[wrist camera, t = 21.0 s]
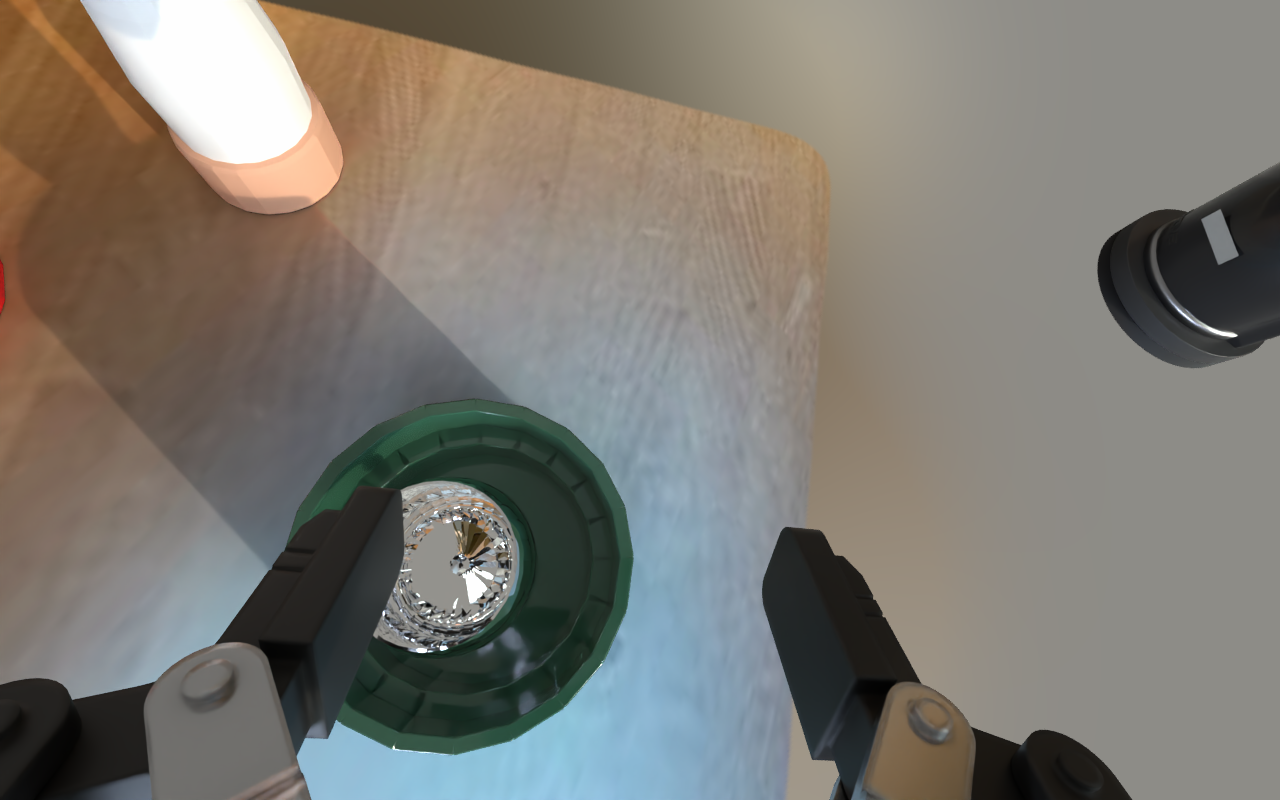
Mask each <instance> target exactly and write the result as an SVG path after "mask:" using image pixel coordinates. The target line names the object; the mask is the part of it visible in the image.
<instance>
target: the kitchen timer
mask: <svg viewBox="0 0 1280 800" xmlns="http://www.w3.org/2000/svg"><path fill="white" fill-rule="evenodd" d="M4 301H5V290H4V273H3V264H2V262H1V260H0V314H1V311H2V307H3V304H4Z"/></svg>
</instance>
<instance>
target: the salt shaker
mask: <svg viewBox="0 0 1280 800" xmlns="http://www.w3.org/2000/svg"><path fill="white" fill-rule="evenodd" d="M80 1H81V2H82V4H83V6H84V7H85V9H86V11H87V12H88V14H89V16H90V17H91V19H92V21H93V22H94V24H95V25H96V27H97V29H98V30H99V32H100V34H101V35H102V37H103V39H104V40H105V42H106V43H107V45H108V47H109V48H110V50H111V52H112V53H113V55H114V57H115V58H116V60H117V61H118V63H119V65H120V66H121V68H122V70H123V71H124V73H125V75H126V76H127V78H128V80H129V81H130V83H131V84H132V85H133V86H134V88H135V89H136V90H137V91H138V92H139V93H140V94H141V95H142V96H143V98H144V99H145V100H146V101H147V102H148V103H149V104H150V105H151V107H152V108H153V109H154V110H155V111H156V112H157V113H158V114H159V115H160V117H161V118H162V119H163V120H164V121H165V122H166V123H167V128H168V131H169V134H170V136H171V138H172V140H173V142H174V144H175V146H176V147H177V149H178V150H179V151H180V152H181V153H182V154H183V156H184V157H185V158H186V159H187V160H188V161H189V162H190V164H191V165H192V166H193V167H194V168H195V169H196V171H197V172H198V173H199V174H200V175H201V176H202V177H203V179H204V180H205V181H206V182H207V183H208V184H209V186H210V187H211V188H212V189H213V190H214V191H215V192H216V193H217V194H218V195H220V196H221V197H222V198H223V199H224V200H225V201H226V202H227V203H230V204H232V205H234V206H236V207H239V208H241V209H243V210H245V211H249V212H256V213H262V214H279V213H290V212H293V211H296V210H299V209H302V208H305V207H308V206H311V205H312V204H314V203H315V202H317V201H318V200H320V199H321V198H322V197H324V196H325V195H327V194H328V193H329V192H330V190H331V189H332V188H333V186H334V185H335V184H336V182H337V181H338V180H339V177H340V174H341V170H342V167H343V155H342V147H341V145H340V143H339V141H338V139H337V137H336V135H335V133H334V131H333V128H332V126H331V124H330V122H329V120H328V118H327V116H326V114H325V112H324V110H323V107H322V105H321V103H320V102H319V100H318V98H317V96H316V94H315V93H314V91H313V89H312V88H311V87H310V86H309V85H308V84H307V83H305V82H304V81H303V80H302V79H301V78H300V77H299V74H298V72H297V70H296V68H295V65H294V63H293V61H292V59H291V57H290V54H289V52H288V50H287V48H286V46H285V43H284V42H283V40H282V38H281V36H280V34H279V33H278V31H277V29H276V27H275V26H274V24H273V23H272V22H271V20H270V19H269V17H268V16H267V14H266V13H265V11H264V10H263V9H262V7H261V6H260V4H259V3H258V1H257V0H80Z"/></svg>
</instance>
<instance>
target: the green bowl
mask: <svg viewBox="0 0 1280 800" xmlns="http://www.w3.org/2000/svg"><path fill="white" fill-rule="evenodd" d="M447 476H452V477H467V478H472V479H476V480H480V481H483V482H485V483H488V484H490V485H493V486H495V487H497V488H498V489H500V490H502V491H503V492H505V493H506V494H507V495H509V496H510V497H511V498H512V499H513V500H514V501H515V502H516V503H517V504H518V505H519V506H520V507H521V509H522V510H523V511H524V513H525V515H526V516H527V518H528V520H529V522H530V523H531V526H532V528H533V531H534V534H535V537H536V540H537V545H538V556H539V567H538V573H537V579H536V584H535V587H534V590H533V592H532V595H531V597H530V599H529V602H528V604H527V606H526V607H525V609H524V610H523V612H522V613H521V614H520V616H519V617H518V619H517V620H516V621H515V623H514V624H513V625H512V626H511V627H510V628H509V629H508V630H507V631H506V632H505V633H504V634H502V635H501V636H500V637H499V638H497V639H496V640H494V641H493V642H491V643H490V644H489V645H487V646H485V647H483V648H481V649H478V650H476V651H474V652H472V653H470V654H466V655H462V656H458V657H453V658H449V659H421V658H416V657H412V656H408V655H405V654H401V653H398V652H397V651H395V650H393V649H391V648H389V647H387V646H385V645H384V644H382V643H381V642H380V641H379V640H377V639H376V638H375V637H372V639H371V641H370V643H369V646H368V648H367V650H366V653H365V655H364V657H363V659H362V662H361V664H360V666H359V669H358V671H357V673H356V675H355V678H354V680H353V682H352V685H351V687H350V689H349V691H348V694H347V696H346V698H345V700H344V703H343V705H342V707H341V710H340V712H339V714H338V716H337V719H336V720H337V721H338V722H341V724H342V725H344V726H346V727H348V728H350V729H352V730H354V731H356V732H358V733H360V734H362V735H364V736H366V737H368V738H370V739H372V740H374V741H376V742H378V743H380V744H382V745H384V746H386V747H388V748H391V749H394V750H400V751H410V752H421V753H431V754H442V755H453V754H454V755H458V754H462V753H466V752H470V751H474V750H478V749H482V748H486V747H490V746H494V745H498V744H502V743H506V742H509V741H512V740H514V739H516V738H518V737H520V736H521V735H523V734H524V733H526V732H527V731H529V730H531V729H532V728H534V727H535V726H537V725H539V724H540V723H542V722H543V721H545V720H547V719H548V718H550V717H551V716H553V715H554V714H556V713H558V712H559V711H561V710H562V709H563V708H564V707H566V706H567V705H568V704H569V702H570V701H571V700H572V699H573V698H574V697H575V696H576V694H577V693H578V692H579V691H580V690H581V689H582V687H583V686H584V685H585V684H586V683H587V682H588V680H589V679H590V678H591V677H592V676H593V675H594V673H595V672H596V671H597V670H598V669H599V668H600V666H601V665H602V664H603V662H604V661H605V659H606V656H607V654H608V652H609V650H610V647H611V645H612V643H613V641H614V639H615V636H616V634H617V632H618V630H619V627H620V625H621V623H622V621H623V618H624V616H625V614H626V610H627V606H628V598H629V591H630V583H631V575H632V567H633V559H634V558H633V549H632V544H631V538H630V532H629V526H628V521H627V515H626V509H625V507H624V506H625V505H624V503H623V501H622V499H621V497H620V496H619V494H618V492H617V490H616V488H615V486H614V484H613V482H612V480H611V478H610V476H609V474H608V472H607V470H606V469H605V467H604V465H603V463H602V462H601V461H600V460H599V459H598V458H597V457H596V456H595V455H594V454H593V453H592V452H591V451H590V450H589V449H588V448H587V447H586V446H585V445H584V444H583V443H582V442H581V441H580V440H579V439H578V438H577V437H576V436H575V435H574V434H573V433H572V432H571V431H570V430H568V429H567V428H566V427H564V426H562V425H560V424H558V423H556V422H554V421H552V420H550V419H548V418H546V417H544V416H542V415H540V414H538V413H536V412H534V411H532V410H530V409H528V408H526V407H523V406H517V405H512V404H506V403H500V402H494V401H488V400H482V399H468V400H460V401H452V402H443V403H435V404H427V405H423V406H420V407H418V408H416V409H413V410H411V411H409V412H406V413H404V414H402V415H399V416H397V417H395V418H392V419H390V420H388V421H385V422H383V423H380V424H378V425H376V426H375V427H373V428H372V429H371V430H369V431H368V432H367V433H366V434H364V435H363V436H362V437H361V438H359V439H358V440H357V441H356V442H354V443H353V444H352V445H351V446H350V447H348V448H347V449H346V450H345V451H343V452H342V453H341V454H340V455H338V456H337V457H336V458H335V459H333V460H332V462H331V463H330V464H329V465H328V467H327V468H326V470H325V471H324V472H323V474H322V475H321V477H320V478H319V480H318V481H317V482H316V484H315V485H314V487H313V488H312V490H311V491H310V493H309V494H308V495H307V497H306V498H305V500H304V501H303V503H302V504H301V505H300V507H299V510H298V511H297V514H296V517H295V520H294V523H293V526H292V529H291V532H290V535H289V538H288V541H287V545H288V543H289V542H290V541H291V539H292V538H293V536H294V535H295V534H296V532H297V531H298V529H299V528H300V527H301V526H302V525H303V524H305V523H306V522H308V521H309V520H310V519H312V518H313V517H315V516H316V515H318V514H319V513H320V512H322V511H323V510H325V509H331V510H342V509H343V508H344V506H345V505H346V503H347V502H348V500H349V499H350V497H351V496H352V494H353V492H354V491H355V490H356V488H357V487H359V486H371V487H382V488H392V489H399V490H400V489H402V488H404V487H407V486H409V485H411V484H414V483H417V482H420V481H424V480H427V479H431V478H438V477H447ZM287 545H286V546H287ZM284 552H285V551H284Z"/></svg>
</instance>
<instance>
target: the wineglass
mask: <svg viewBox="0 0 1280 800" xmlns="http://www.w3.org/2000/svg"><path fill="white" fill-rule="evenodd" d="M400 491H401V493H402V503H403V526H404V557H403V563H402V567H401V571H400V574H399V577H398V579H397V582H396V584H395V586H394V589H393V591H392V593H391V595H390V598H389V600H388V602H387V605H386V607H385V609H384V611H383V614H382V616H381V618H380V621H379V623H378V625H377V627H376V630H375V632H374V634H373V637H375V638H376V639H377V640H379V641H380V642H381V643H382V644H384V645H385V646H387V647H389V648H391V649H393V650H395V651H397V652H398V653H401V654H405V655H408V656H412V657H416V658H421V659H449V658H453V657H458V656H462V655H466V654H470V653H472V652H474V651H476V650H478V649H481V648H483V647H485V646H487V645H489V644H490V643H491V642H493V641H494V640H496V639H497V638H499V637H500V636H501V635H502V634H504V633H505V632H506V631H507V630H508V629H509V628H510V627H511V626H512V625H513V624H514V623H515V621H516V620H517V619H518V617H519V616H520V614H521V613H522V612H523V610H524V609H525V607H526V606H527V604H528V602H529V599H530V597H531V595H532V592H533V590H534V587H535V584H536V579H537V573H538V567H539V556H538V545H537V540H536V537H535V534H534V531H533V528H532V526H531V523H530V522H529V520H528V518H527V516H526V515H525V513H524V511H523V510H522V509H521V507H520V506H519V505H518V504H517V503H516V502H515V501H514V500H513V499H512V498H511V497H510V496H509V495H507V494H506V493H505V492H503V491H502V490H500V489H498V488H497V487H495V486H493V485H490V484H488V483H485V482H483V481H480V480H476V479H472V478H467V477H452V476H447V477H438V478H431V479H427V480H424V481H420V482H417V483H414V484H411V485H409V486H407V487H404V488H402V489H400Z"/></svg>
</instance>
